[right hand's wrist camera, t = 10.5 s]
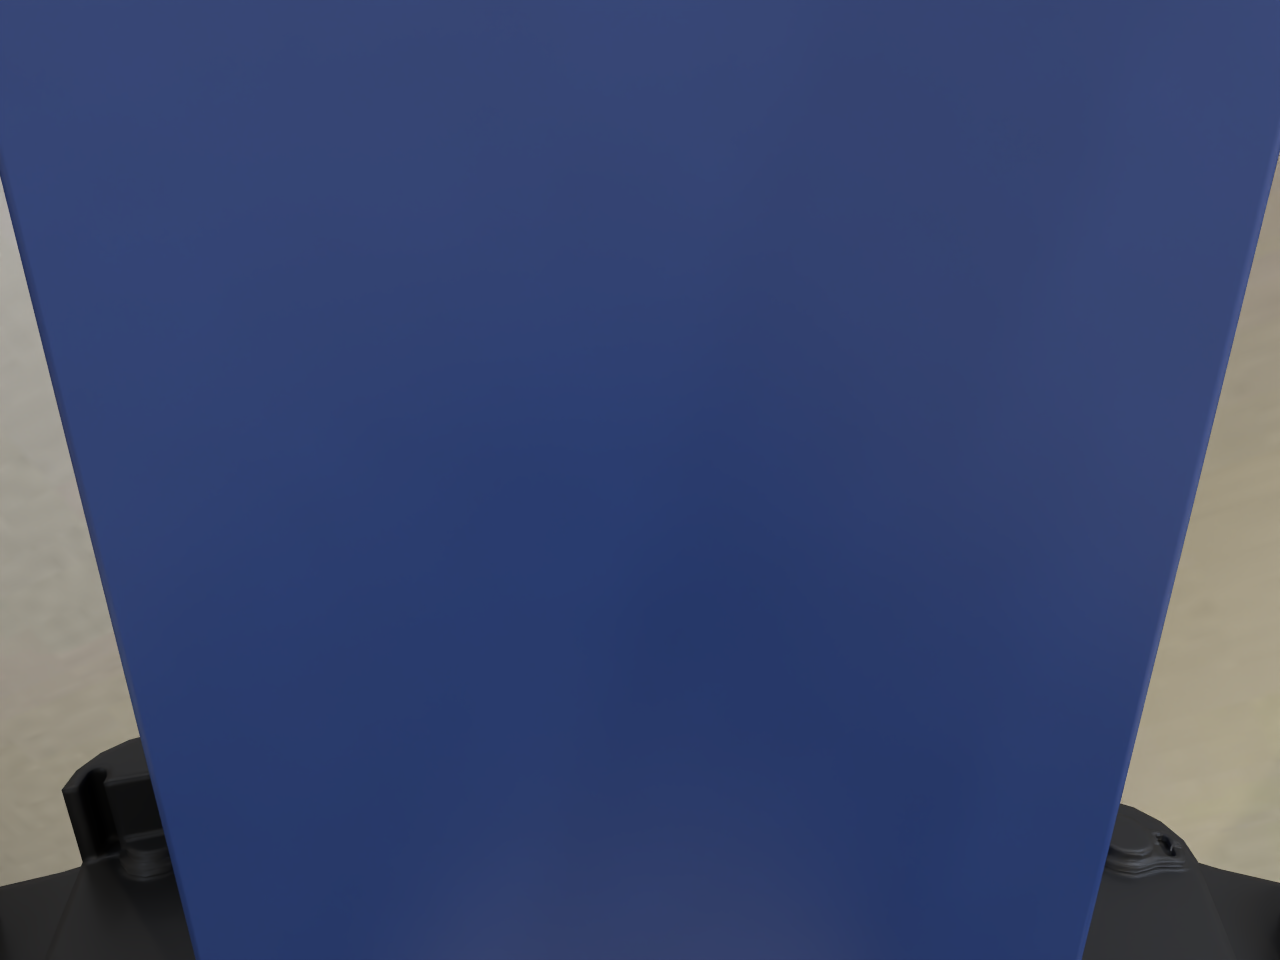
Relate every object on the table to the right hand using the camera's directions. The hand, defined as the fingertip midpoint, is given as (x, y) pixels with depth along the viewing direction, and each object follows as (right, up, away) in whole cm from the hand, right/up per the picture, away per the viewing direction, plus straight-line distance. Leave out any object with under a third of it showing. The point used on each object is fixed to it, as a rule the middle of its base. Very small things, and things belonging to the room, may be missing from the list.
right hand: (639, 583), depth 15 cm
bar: (0, +7, -2) cm, 7 cm away
